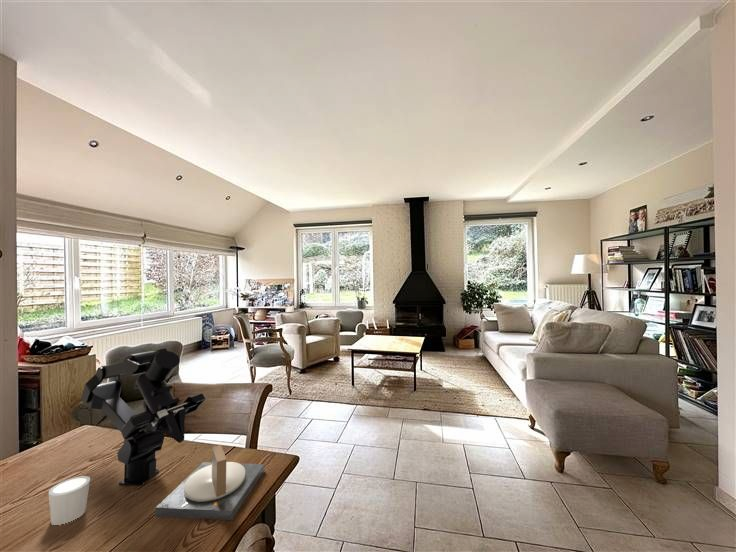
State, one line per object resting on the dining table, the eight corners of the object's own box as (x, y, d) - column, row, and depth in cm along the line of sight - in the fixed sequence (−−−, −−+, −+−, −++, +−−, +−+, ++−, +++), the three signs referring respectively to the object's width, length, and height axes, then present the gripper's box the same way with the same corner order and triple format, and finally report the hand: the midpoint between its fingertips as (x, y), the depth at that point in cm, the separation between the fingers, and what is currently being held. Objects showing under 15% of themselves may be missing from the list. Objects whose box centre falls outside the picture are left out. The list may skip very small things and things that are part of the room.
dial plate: (155, 516, 68) (155, 507, 68) (203, 469, 86) (203, 461, 86) (231, 520, 67) (231, 510, 67) (263, 471, 85) (264, 463, 85)
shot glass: (62, 530, 64) (63, 497, 65) (38, 525, 66) (39, 492, 66) (96, 507, 71) (98, 477, 71) (74, 503, 72) (75, 473, 73)
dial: (182, 477, 79) (183, 442, 79) (238, 460, 87) (239, 428, 87) (186, 513, 66) (187, 470, 67) (251, 489, 74) (252, 451, 75)
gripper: (175, 397, 91) (199, 442, 86) (101, 423, 74) (125, 480, 69) (193, 374, 88) (219, 419, 83) (121, 395, 71) (148, 453, 66)
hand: (181, 441), depth 76 cm, fingers closed
